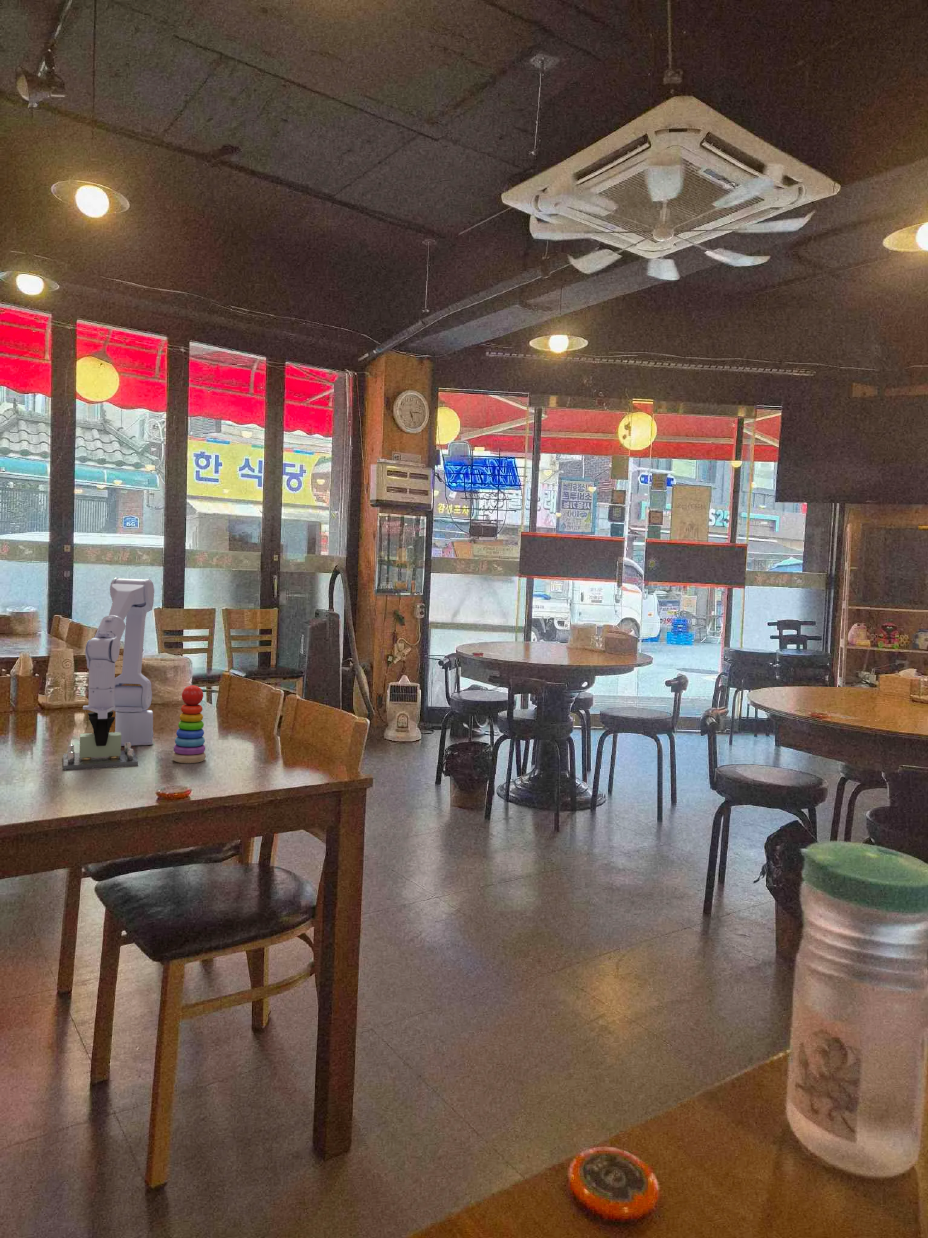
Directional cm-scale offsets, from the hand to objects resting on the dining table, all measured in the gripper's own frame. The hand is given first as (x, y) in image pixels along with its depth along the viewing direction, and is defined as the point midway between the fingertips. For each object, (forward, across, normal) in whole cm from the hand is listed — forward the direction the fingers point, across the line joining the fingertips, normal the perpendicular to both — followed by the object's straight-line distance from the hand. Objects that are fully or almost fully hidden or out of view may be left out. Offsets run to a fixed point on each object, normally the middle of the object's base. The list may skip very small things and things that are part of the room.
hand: (100, 743), depth 199 cm
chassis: (+4, 0, 0) cm, 4 cm away
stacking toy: (+5, +4, +20) cm, 21 cm away
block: (+3, 0, 0) cm, 3 cm away
